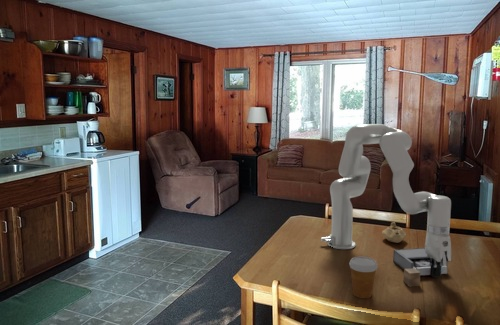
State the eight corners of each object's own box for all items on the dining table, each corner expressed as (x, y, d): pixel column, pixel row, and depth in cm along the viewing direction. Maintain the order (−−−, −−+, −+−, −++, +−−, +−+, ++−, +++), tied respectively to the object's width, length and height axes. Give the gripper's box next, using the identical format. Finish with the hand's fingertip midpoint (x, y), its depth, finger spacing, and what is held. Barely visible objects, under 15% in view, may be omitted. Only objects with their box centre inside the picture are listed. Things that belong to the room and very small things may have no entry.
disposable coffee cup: (344, 288, 143) (345, 256, 141) (370, 287, 144) (371, 255, 142) (353, 301, 133) (354, 267, 132) (381, 299, 134) (382, 266, 133)
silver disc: (418, 268, 156) (418, 263, 155) (408, 261, 162) (408, 257, 162) (434, 267, 156) (434, 262, 156) (424, 260, 163) (424, 255, 163)
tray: (418, 276, 151) (418, 269, 150) (399, 261, 165) (400, 255, 164) (447, 274, 152) (447, 267, 152) (426, 260, 166) (427, 253, 166)
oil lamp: (389, 247, 184) (389, 230, 183) (378, 236, 199) (378, 221, 197) (412, 246, 184) (413, 230, 183) (400, 236, 199) (400, 220, 198)
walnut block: (409, 286, 144) (409, 273, 143) (403, 281, 148) (404, 268, 147) (419, 285, 144) (420, 272, 144) (413, 281, 148) (414, 268, 148)
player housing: (410, 275, 153) (411, 262, 153) (393, 261, 167) (393, 249, 166) (446, 272, 155) (447, 260, 154) (426, 259, 169) (427, 247, 168)
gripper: (460, 235, 140) (457, 284, 143) (435, 222, 155) (433, 267, 158) (440, 236, 140) (437, 285, 142) (417, 223, 154) (415, 268, 157)
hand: (435, 276), depth 150 cm, fingers closed
